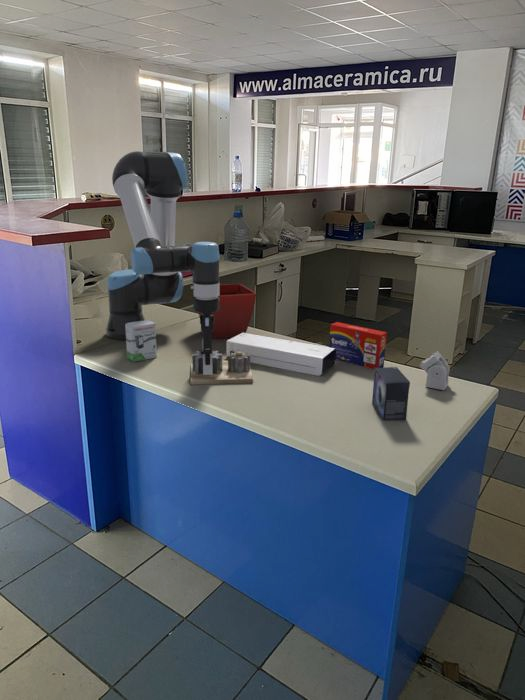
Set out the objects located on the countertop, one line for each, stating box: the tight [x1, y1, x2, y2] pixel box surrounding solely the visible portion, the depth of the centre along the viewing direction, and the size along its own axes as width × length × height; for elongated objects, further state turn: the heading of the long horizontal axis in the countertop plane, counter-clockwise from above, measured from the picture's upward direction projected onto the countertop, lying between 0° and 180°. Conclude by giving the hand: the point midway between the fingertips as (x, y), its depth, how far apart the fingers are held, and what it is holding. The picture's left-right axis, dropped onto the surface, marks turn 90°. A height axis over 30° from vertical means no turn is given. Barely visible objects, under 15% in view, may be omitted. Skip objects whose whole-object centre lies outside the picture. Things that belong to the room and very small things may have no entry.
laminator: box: [225, 332, 336, 377], centre depth 170 cm, size 34×12×6 cm, turn 63°
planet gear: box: [191, 350, 223, 376], centre depth 159 cm, size 9×9×5 cm
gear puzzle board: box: [190, 352, 254, 385], centre depth 159 cm, size 16×18×7 cm
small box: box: [371, 366, 411, 421], centre depth 135 cm, size 11×6×10 cm, turn 5°
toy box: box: [328, 321, 388, 371], centre depth 170 cm, size 18×4×12 cm, turn 52°
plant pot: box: [197, 283, 257, 339], centre depth 198 cm, size 19×19×17 cm
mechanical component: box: [419, 351, 450, 391], centre depth 153 cm, size 5×8×10 cm
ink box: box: [125, 319, 158, 363], centre depth 171 cm, size 9×5×12 cm, turn 129°
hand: (207, 366), depth 159 cm, fingers open, 13 cm apart
